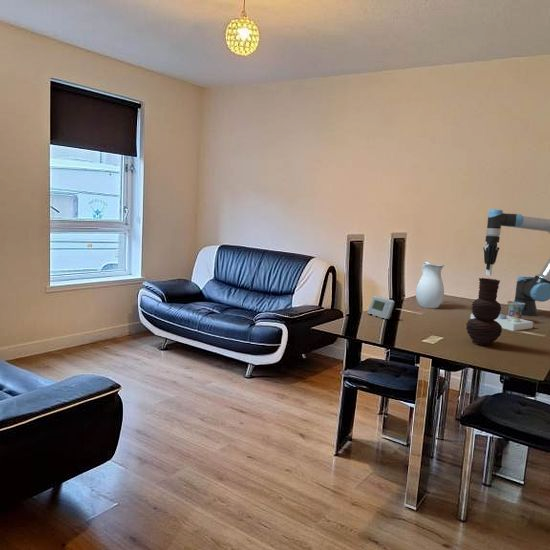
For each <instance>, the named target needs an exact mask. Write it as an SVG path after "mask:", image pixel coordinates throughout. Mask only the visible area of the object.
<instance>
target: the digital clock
mask: <svg viewBox="0 0 550 550" xmlns="http://www.w3.org/2000/svg"><path fill="white" fill-rule="evenodd" d="M394 307H395V301H394V300H393V299H389V298H387V297H382V296H378V295H373V296H372V298H371V302H370V303H369V306H368V309H367V314H368V313H369V314H368V315H370V314H372V315H375V316H378V317H381V318H384V319H383V320H386V319H388V320H390V319H391V318H392V312H393V310H394ZM372 315H371V316H372ZM375 316H374V317H375ZM378 317H377V318H378ZM390 317H391V318H390ZM381 318H380V319H381Z"/></svg>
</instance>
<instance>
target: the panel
mask: <svg viewBox="0 0 550 550" xmlns="http://www.w3.org/2000/svg"><path fill="white" fill-rule="evenodd" d="M500 315H503V314H501V313H500ZM504 315H505V314H504ZM505 316H506V319H500V318H497V319H495V321H497V322H498V323H499V324H500V325H501V326H502V329H504V330H508V331H513V332H514V331H515V332H516V331H522V330H528V329H529V330H530V329H533V327H534V321H531V320H526V319H523V318H522V319H520V322H518V323H516V322H512V321H510V318H515V317H510V316H508V315H505ZM474 318H475V317H474V315H473V313H470V318H469V319H474ZM518 319H519V318H518Z"/></svg>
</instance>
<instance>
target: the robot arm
mask: <svg viewBox="0 0 550 550" xmlns="http://www.w3.org/2000/svg"><path fill="white" fill-rule="evenodd" d="M486 223H487V226H486V233H485V234H486V235H485V240H484V241H485V243H486V245H485V246H484V247H483V248H482V249H483V256H484V257H483V259H484V260H483V261H484V264H485V265H486V267H485V276H492V272H493V271H492V270H493V265H495V264H496V262H497V261H496V260H497V257H498V253H499V251H500V247H498V243H500V238H501V237H500V236H501V232H502V231H501V229H502V227H507V228H508V227H509V228H516V229H523V230H524V229H525V230H531V231H532V230H533V231H541V232H547V233H548V234H550V219H549V218H540V217H532V216H526V215H522V214H519V213H504V212H503V209H496V208H495V209H493V208H492V209H489V210H488V214H487V222H486ZM549 300H550V257H549V258H548V260H547V262H546V263H545V264H544V266H543V268H542V270H541V271H540V273H538V274H535V276H518V278H517V279H516V288H515V295H514V300H513V301H515V302H521V303H525V306H524V307H523V309H522V313H521V315H525V316H537V314H538V308H537V305H536V303H537V302H542V303H543V302H547V301H549Z"/></svg>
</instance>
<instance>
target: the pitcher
mask: <svg viewBox="0 0 550 550" xmlns="http://www.w3.org/2000/svg"><path fill="white" fill-rule="evenodd" d="M444 266H445V264H442V265H436V264H432V263H431V262H429V261H425V262H424V263H423V264H422V268H421V271H422V272H421V273H422V275H421V277H420V279H419V281H418V283H417V286H416V290H415V297H416V301H417V303H418V306H419V307H422V308H425V309H438V308H439V307H440V305H441V304H442V302H443V300H444V296H445V287H444V282H443V279H442V269H443V268H444Z"/></svg>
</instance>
